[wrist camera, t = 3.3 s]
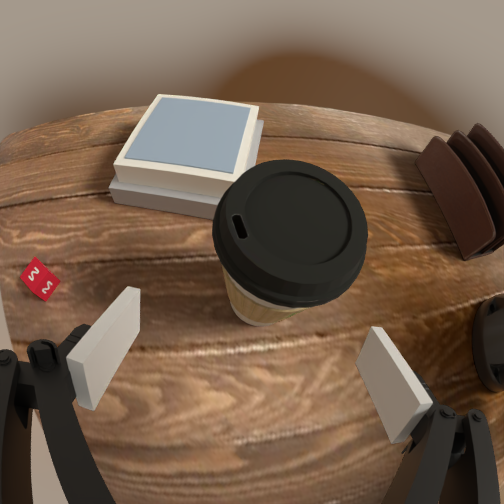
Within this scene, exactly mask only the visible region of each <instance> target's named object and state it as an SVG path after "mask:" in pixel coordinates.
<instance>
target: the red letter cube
mask: <svg viewBox="0 0 504 504" xmlns="http://www.w3.org/2000/svg"><path fill="white" fill-rule="evenodd" d="M20 278H21V279H22V280H23V282H24V283H25V284H26V285H27V286H28V288H29V289H30V290H31V291H32V292H33V293H34V294H35V295H37V296H38V297H40V298H41V299H43V300H44V301H47V299H48V298H49V297H50V295H51V294H52V292H53V291H54V290H55V288H56V287H57V285H58V284H59V283H60V280H59V279H58V278H57V277H56V276H55V275H54V274H53V273H52V272H51V271H50V270H49V269H48V268H47V267H46V266H45V265H44V264H43V263H41V262H40V261H39V260H38V259H37V258H36V257H34V258H33V260H32V261H31V262H30V264H29V265H28V266H27V268H26V269H25V271H24V272H23V273H22V275H21V276H20Z"/></svg>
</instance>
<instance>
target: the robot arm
mask: <svg viewBox="0 0 504 504" xmlns="http://www.w3.org/2000/svg"><path fill="white" fill-rule="evenodd" d="M139 332H140V289H138V288H133V287H129V286H127V288H126V289H125V290H124V291H123V292H122V293H121V294H120V295H119V296H118V297H117V298H116V300H115V301H114V302H113V303H112V304H111V305H110V306H109V307H108V309H107V310H106V311H105V312H104V313H103V314H102V315H101V316H100V318H99V319H98V320H97V321H96V322H95V323H94V324H93V326H89V325H86V324H82V325H80V326H78V327H76V328H75V329H74V330H73V331H72V332H71V333H70V335H68V337H67V338H66V339H65V340H64V341H63V342H62V343H61V344H60V345H59V347H58V348H57V346H56V344H55V343H53V342H52V341H50V340H46V339H40V340H36V341H34V342H32V343H31V344H30V345H29V346H28V348H27V354H28V357H29V360H30V363H29V362H23V361H18V358H17V355H16V354H15V353H14V352H13V351H11V350H7V349H6V350H0V504H33V499H32V498H33V497H32V486H31V485H32V484H31V426H32V412H33V409H38V410H39V413H40V418H41V422H42V426H43V430H44V434H45V438H46V441H47V445H48V448H49V452H50V455H51V458H52V461H53V464H54V467H55V470H56V473H57V476H58V478H59V481H60V484H61V486H62V489H63V491H64V494H65V496H66V499H67V501H68V503H69V504H116V503H115V501H114V499H113V497H112V496H111V494H110V492H109V490H108V488H107V486H106V484H105V482H104V480H103V478H102V476H101V474H100V472H99V470H98V468H97V466H96V464H95V461H94V459H93V457H92V455H91V452H90V450H89V448H88V445H87V443H86V440H85V438H84V435H83V433H82V430H81V428H80V425H79V422H78V419H77V416H76V414H75V411H74V408H73V405H72V402H73V401H74V399H75V398H76V399H77V402H78V405H79V406H81V407H84V408H86V409H89V410H92V411H94V410H95V408H96V407H97V405H98V403H99V401H100V399H101V397H102V396H103V394H104V392H105V390H106V388H107V387H108V385H109V383H110V381H111V379H112V378H113V376H114V374H115V372H116V371H117V369H118V367H119V365H120V364H121V362H122V360H123V359H124V357H125V355H126V353H127V352H128V350H129V348H130V347H131V345H132V343H133V342H134V340H135V338H136V337H137V335H138V333H139ZM472 345H473V355H474V361H475V365H476V369H477V372H478V375H479V377H480V379H481V381H482V382H483V384H484V385H485V386H486V387H487V388H488V389H489V390H491V391H493V392H500V391H504V294H498V295H495V296H493V297H492V298H490V299H488V300H486V301H484V302H483V303H482V304H481V306H480V307H479V309H478V311H477V314H476V317H475V320H474V325H473V335H472ZM355 364H356V366H357V368H358V370H359V372H360V375H361V377H362V379H363V381H364V383H365V385H366V388H367V390H368V392H369V394H370V396H371V399H372V401H373V403H374V405H375V407H376V410H377V412H378V414H379V417H380V419H381V421H382V423H383V426H384V428H385V430H386V433H387V435H388V437H389V440H390V442H391V444H394V443H400V442H404V441H405V440H406V439H407V437H408V436H409V435H410V434H411V436H412V438H413V439H412V440H411V442H410V443H409V444H408V445H407V446H406V448H405V449H404V450H403V451H402V454H403V453H404V452H405V451H406V453H405V455H404V457H403V460H402V462H401V464H400V467H399V469H398V471H397V473H396V476H395V478H394V480H393V482H392V484H391V486H390V488H389V490H388V492H387V494H386V496H385V498H384V500H383V502H382V504H438V501H439V504H500V492H499V483H498V475H497V468H496V462H495V456H494V451H493V445H492V441H491V436H490V431H489V427H488V423H487V419H486V417H485V415H484V414H483V412H481V411H480V410H477V409H471V410H469V412H468V413H467V414H466V416H460V415H457V414H456V412H455V411H454V410H453V409H452V408H450V407H449V406H446V405H440V404H439V402H438V401H437V399H436V398H435V396H434V395H433V393H432V392H431V390H430V389H429V387H428V386H427V384H425V381H424V380H423V378H422V377H421V376H420V375H419V374H418V373H416V372H415V371H412V370H411V368H410V367H409V365H408V364H407V362H406V361H405V359H404V358H403V357H402V355H401V354H400V352H399V351H398V349H397V348H396V346H395V345H394V344H393V342H392V341H391V339H390V338H389V337H388V335H387V334H386V332H385V331H384V330H383V328H382V327H372V326H371V328H370V331H369V333H368V335H367V338H366V340H365V342H364V345H363V347H362V349H361V352H360V354H359V356H358V358H357V360H356V363H355ZM465 448H466V451H465V453H464V449H465ZM439 498H440V499H439Z"/></svg>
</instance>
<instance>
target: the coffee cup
mask: <svg viewBox="0 0 504 504" xmlns="http://www.w3.org/2000/svg"><path fill="white" fill-rule="evenodd" d="M212 236H213V241H214V247H215V250H216V253H217V255H218V257H219V259H220V262H221V264H222V269H223V274H224V279H225V284H226V289H227V294H228V297H229V299H230V302H231V306H232V308H233V311H234V312H235V313H236V315H237V316H238V317H239V318H240V319H241V320H243V321H244V322H246V323H248V324H251V325H254V326H268V325H271V324H274V323H276V322H280V321H282V320H285V319H287V318H289V317H291V316H293V315H295V314H297V313H299V312H301V311H303V310H305V309H307V308H310V307H314V306H318V305H322V304H325V303H328V302H330V301H332V300H334V299H336V298H338V297H339V296H340V295H341V294H343V293H344V292H345V291H346V290H347V289H349V287H350V286H351V285H352V283H353V282H354V281H355V279H356V278H357V276H358V274H359V273H360V270H361V268H362V266H363V263H364V260H365V254H366V244H367V238H368V229H367V221H366V218H365V214H364V211H363V209H362V207H361V205H360V203H359V201H358V199H357V198H356V197H355V195H354V194H353V192H352V191H351V190H350V189H349V188H348V187H347V186H346V185H345V184H344V183H343V182H342V181H341V180H339V179H338V178H337V177H336V176H334V175H333V174H331V173H329V172H328V171H326V170H324V169H322V168H320V167H318V166H315V165H313V164H310V163H306V162H302V161H296V160H287V159H286V160H273V161H268V162H263V163H261V164H258V165H256V166H254V167H251V168H250V169H249V170H247V171H246V172H244V173H243V174H242V175H241V176H240V177H239V178H238V179H237V180H236V181H235V182H234V183H233V184H232V185H231V186H230V187H229V188H228V189H227V190H226V191H225V193H224V194H223V196H222V198H221V199H220V201H219V203H218V206H217V208H216V211H215V215H214V218H213V227H212Z"/></svg>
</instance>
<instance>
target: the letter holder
mask: <svg viewBox="0 0 504 504" xmlns="http://www.w3.org/2000/svg"><path fill="white" fill-rule="evenodd" d="M415 164H416V165H417V167H418V169H419V170H420V172H421V174H422V176H423V177H424V179H425V181H426V183H427V184H428V186H429V188H430V190H431V192H432V193H433V195H434V197H435V199H436V201H437V203H438V205H439V207H440V209H441V211H442V213H443V215H444V217H445V219H446V221H447V223H448V225H449V227H450V229H451V231H452V234H453V236H454V238H455V240H456V243H457V245H458V247H459V249H460V252H461V254H462V257H463V259H464V261H466V260H470V259H473V258H477V257H481V256H485V255H488V254H491V253H493V252H494V251H495V250H497V249H498V248H499V247H501V246H502V245H503V244H504V149H503V148H502V146H500V144H499V143H498V141H497V140H496V139H495V138H494V137H493V136H492V135H491V133H489V132H488V130H486V128H484V127H483V126H482V125H481V124H479V123H477V124H475V125H474V126H473V128H472V130H471V131H470V132H469V134H468V135H467V136H466V135H465V134H464V133H463V132H461V131H459V130H457V131H455V132H454V133H453V134H452V136H451V137H450V138H449V140H448V141H447V143H446V142H445V141H443V140H442V139H441V138H440V137H438V136H435V137H433V138H432V139H431V141H430V142H429V144H428V145H427V146H426V148H425V149H424V150H423V152H422V153H421V154H420V155H419V157H418V158H417V160H416V161H415Z"/></svg>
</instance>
